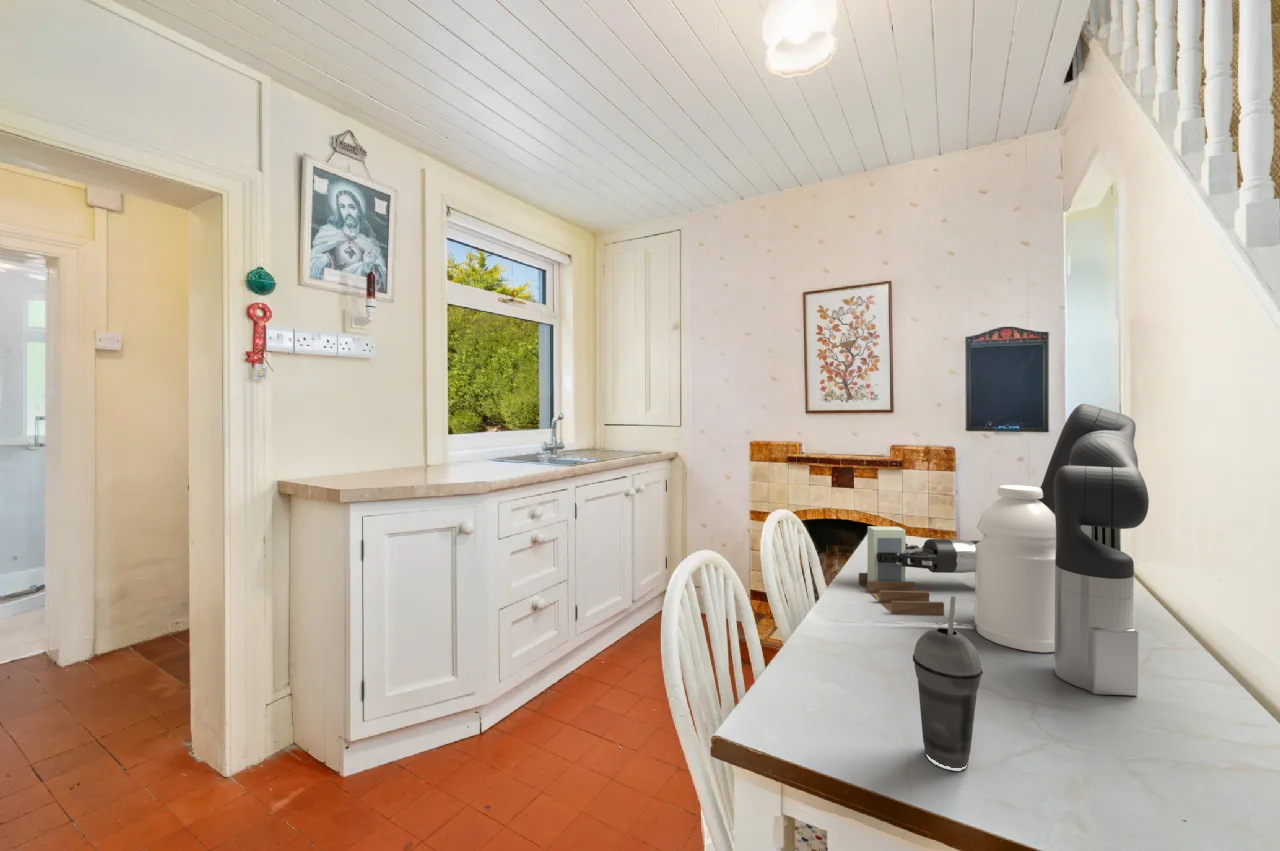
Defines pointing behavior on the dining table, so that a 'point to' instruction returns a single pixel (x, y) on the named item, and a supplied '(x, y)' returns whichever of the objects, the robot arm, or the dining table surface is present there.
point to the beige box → (885, 542)
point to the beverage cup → (947, 692)
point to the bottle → (1016, 571)
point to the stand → (901, 597)
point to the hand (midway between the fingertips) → (874, 554)
